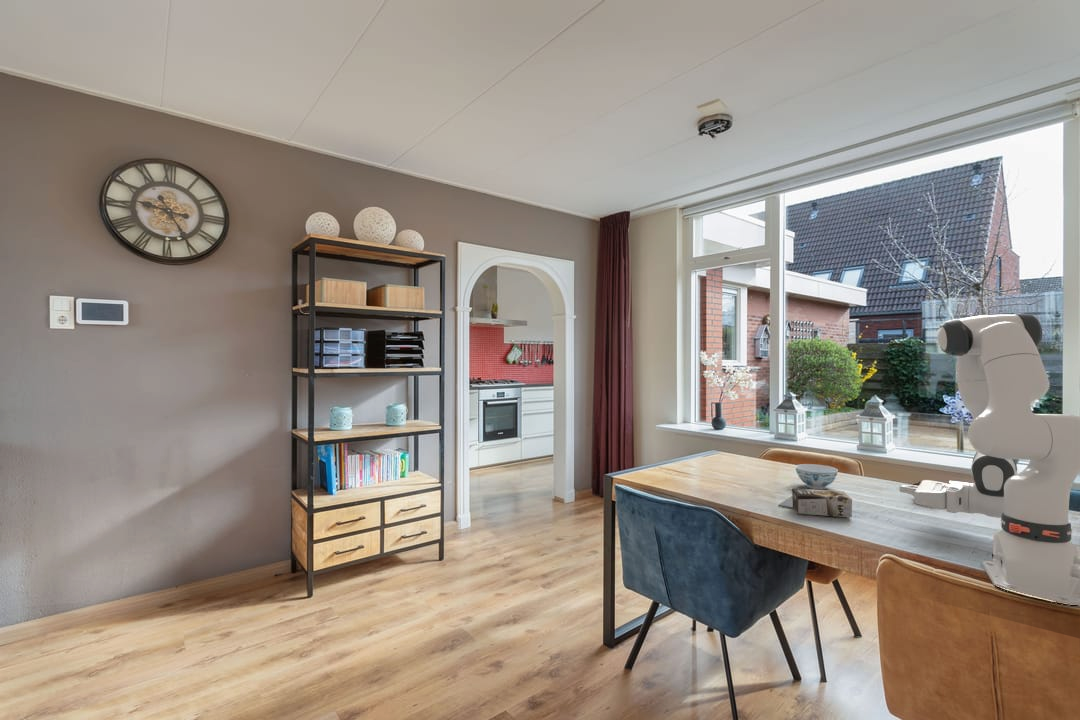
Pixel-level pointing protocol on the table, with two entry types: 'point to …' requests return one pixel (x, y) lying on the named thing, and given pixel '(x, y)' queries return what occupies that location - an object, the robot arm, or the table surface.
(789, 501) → the slate mat
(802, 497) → the coffee box
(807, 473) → the chinaware
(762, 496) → the table surface
